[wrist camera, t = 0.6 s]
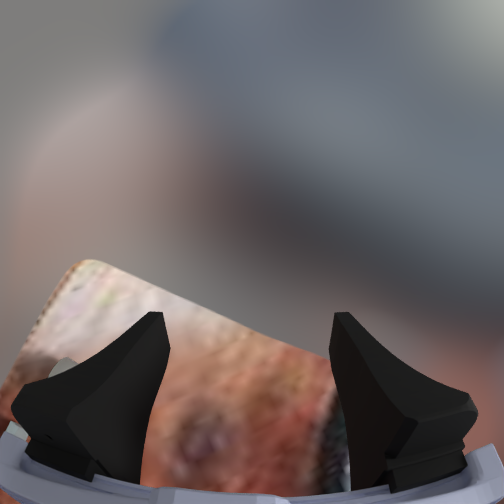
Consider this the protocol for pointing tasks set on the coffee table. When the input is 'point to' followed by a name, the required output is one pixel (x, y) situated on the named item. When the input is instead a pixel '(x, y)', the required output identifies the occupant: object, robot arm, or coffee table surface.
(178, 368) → the coffee table surface
